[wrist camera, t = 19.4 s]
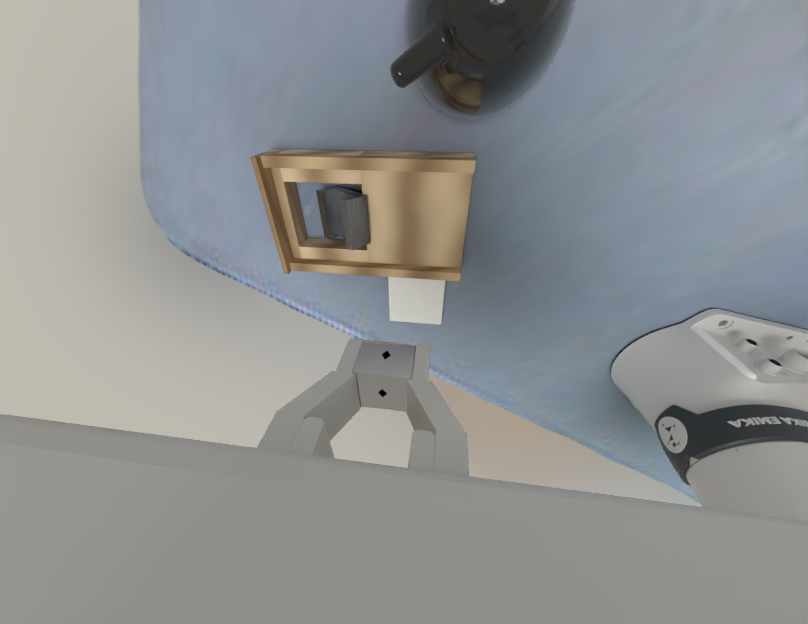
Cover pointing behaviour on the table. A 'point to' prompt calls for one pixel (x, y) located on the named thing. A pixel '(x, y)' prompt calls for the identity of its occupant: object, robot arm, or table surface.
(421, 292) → the white square plate
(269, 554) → the robot arm
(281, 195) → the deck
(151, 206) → the table surface
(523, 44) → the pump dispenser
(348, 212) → the clip
